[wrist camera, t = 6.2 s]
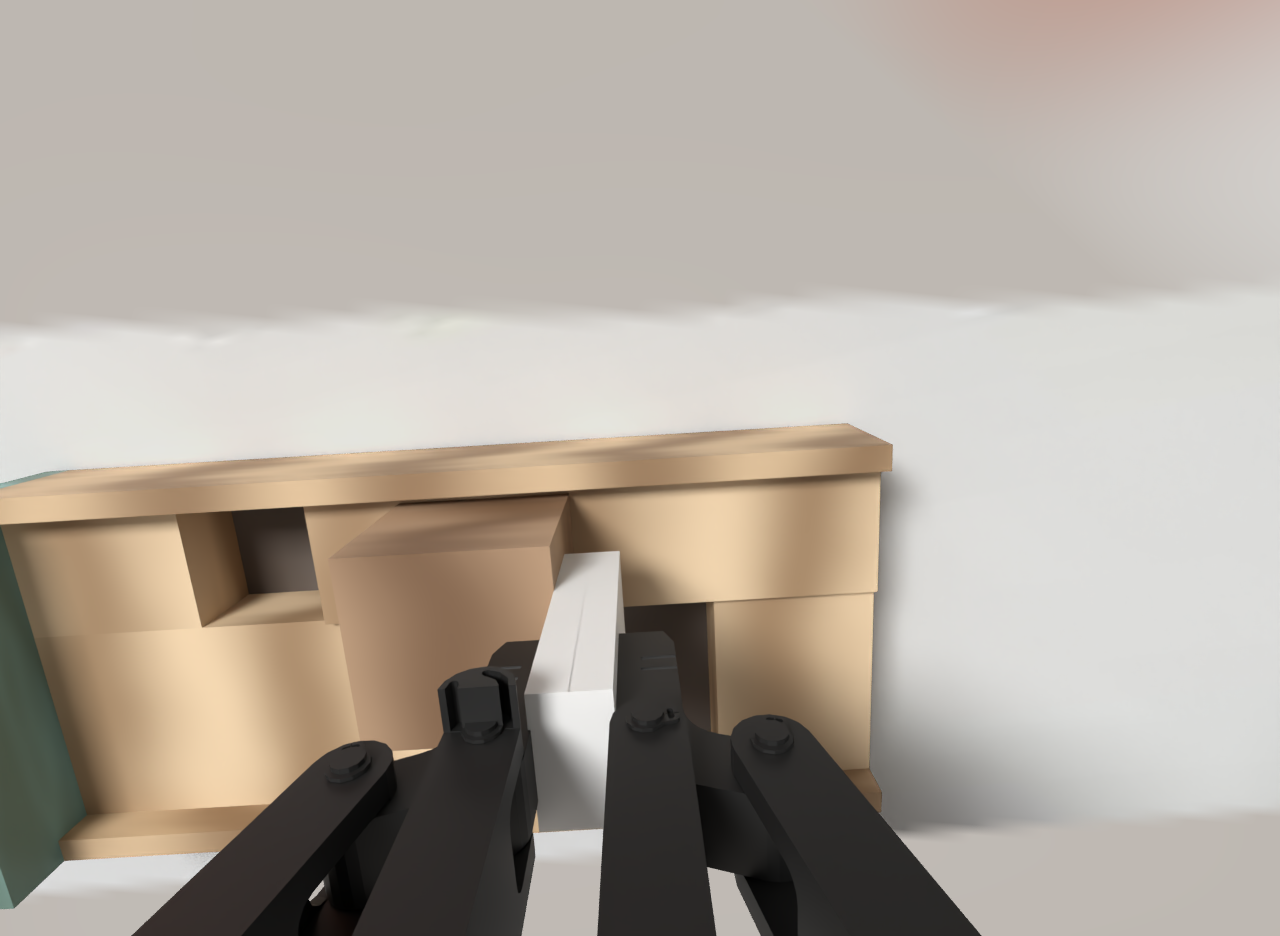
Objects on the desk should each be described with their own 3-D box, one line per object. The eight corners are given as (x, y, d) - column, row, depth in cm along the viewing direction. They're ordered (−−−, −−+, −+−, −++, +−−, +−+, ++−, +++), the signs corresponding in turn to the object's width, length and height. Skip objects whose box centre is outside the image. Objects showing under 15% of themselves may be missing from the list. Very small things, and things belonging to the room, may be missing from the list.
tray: (847, 423, 21) (919, 457, 16) (842, 736, 24) (903, 855, 19) (47, 471, 21) (-149, 521, 16) (132, 778, 24) (-12, 909, 19)
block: (568, 493, 19) (549, 546, 14) (581, 648, 20) (567, 741, 15) (399, 503, 19) (327, 559, 14) (422, 657, 20) (362, 752, 15)
